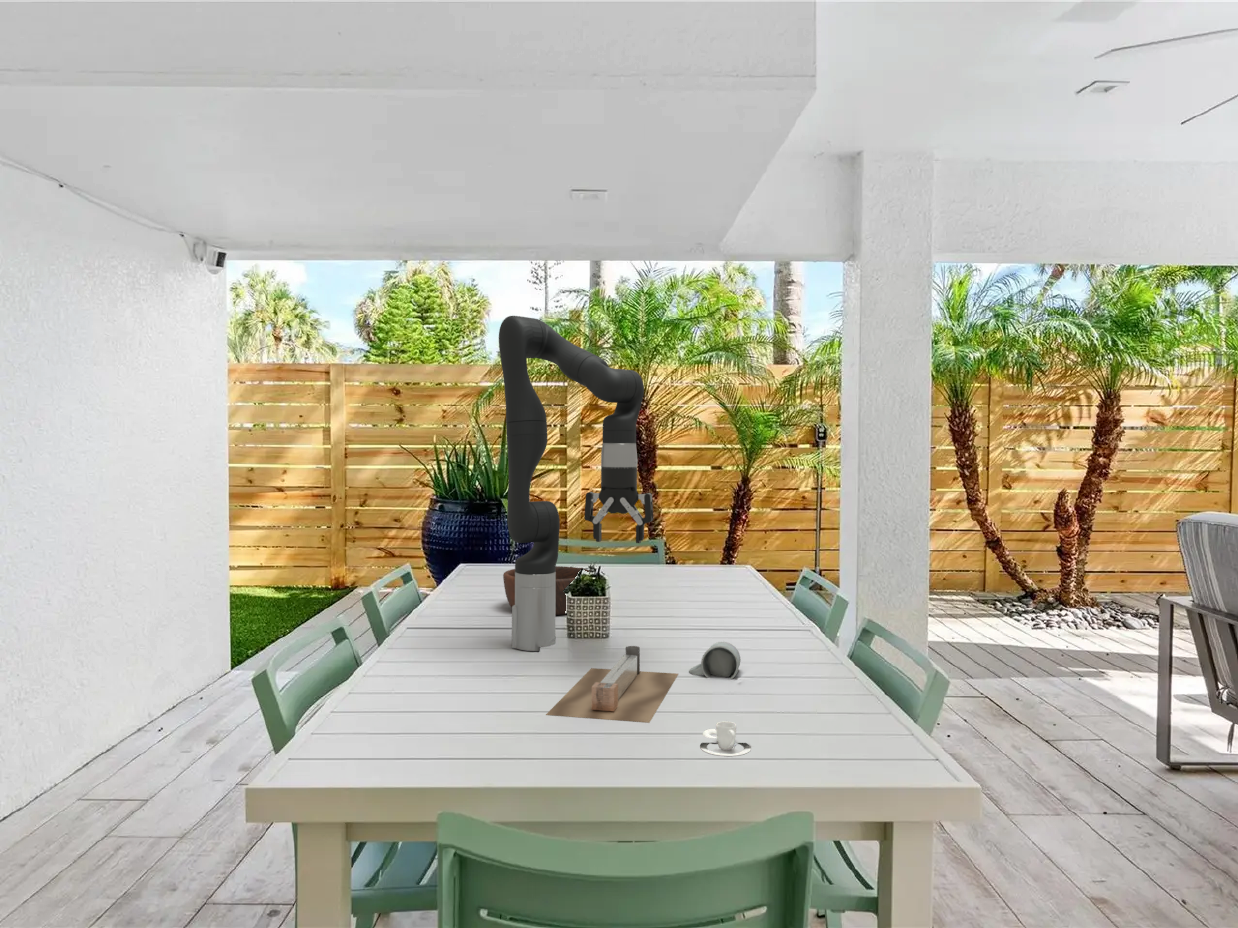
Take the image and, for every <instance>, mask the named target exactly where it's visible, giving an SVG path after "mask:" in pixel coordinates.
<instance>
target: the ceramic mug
mask: <svg viewBox="0 0 1238 928" xmlns="http://www.w3.org/2000/svg"><path fill="white" fill-rule="evenodd" d="M741 661H742V660H741V654H740V652H739V649H738V648H737V647H736V645H733V644H732V643H730V642H727V641H718V642H716V643H713V644H712V645H711V646H710V647H709V648H707V650H706V651H705V652H704V653H703V655H702V658H701V661H700V663H699V664H697V665H695V666H693V667H691V668H690V669H688V673H689V674H691V675H693V676H703V675H704V676H705V677H706V678H707V679H709V678H710V675H713V676H717V677H723V678H729V680H733V679H734V678H735V676H736V675H737V674H738V671H739V668H740V666H741Z"/></svg>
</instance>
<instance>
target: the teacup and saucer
mask: <svg viewBox="0 0 1238 928" xmlns="http://www.w3.org/2000/svg"><path fill="white" fill-rule="evenodd" d="M715 725H716V726H715V727H716V729H715V728H709V729H706V730H704V731H703V732H702V736H703V737H705V738H707V739H716V741H717V742H701V743H700V745H699V748H700V749H701V750H702V752H704V753H706V754H710V755H714V756H721V757H739V756H742V755H746V754H748V753H749V752H751V749H752V747H751V745H750V744H749V743H747V742H737V744H738V745H740V746H742V747H743V750H741V751H740V752H736V753H721V752H720V753H719V752H715V751H712V750H710V749H709V748H708V745H710V744H711V745H718V747H719V749H721V750H724V751H728V750H730V751H731V750H732V749H734V747H735V744H736V738H737V737H736V736H737V724H736V722H733V721H727V720H726V721H718V722H717V723H716V724H715ZM713 734H715V735H716V736H713Z"/></svg>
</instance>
